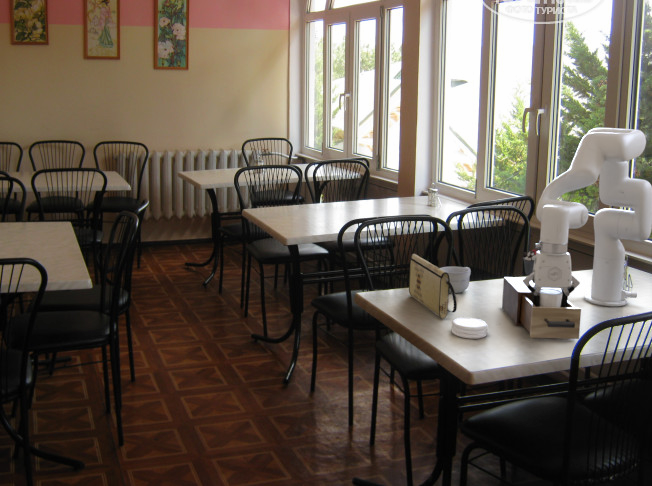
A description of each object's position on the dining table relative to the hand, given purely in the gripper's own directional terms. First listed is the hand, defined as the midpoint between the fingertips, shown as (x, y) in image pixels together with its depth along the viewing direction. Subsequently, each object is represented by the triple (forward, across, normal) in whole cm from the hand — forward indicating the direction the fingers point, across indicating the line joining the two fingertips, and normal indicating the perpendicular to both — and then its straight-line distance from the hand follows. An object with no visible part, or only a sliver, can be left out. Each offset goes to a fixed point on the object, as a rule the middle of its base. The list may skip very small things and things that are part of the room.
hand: (549, 307), depth 214 cm
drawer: (+7, 0, -1) cm, 7 cm away
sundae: (+8, +10, +53) cm, 54 cm away
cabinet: (+8, 0, +15) cm, 17 cm away
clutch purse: (+8, -30, +24) cm, 39 cm away
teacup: (+8, -18, +45) cm, 49 cm away
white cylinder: (+2, 0, 0) cm, 2 cm away
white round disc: (+8, -23, -2) cm, 25 cm away
